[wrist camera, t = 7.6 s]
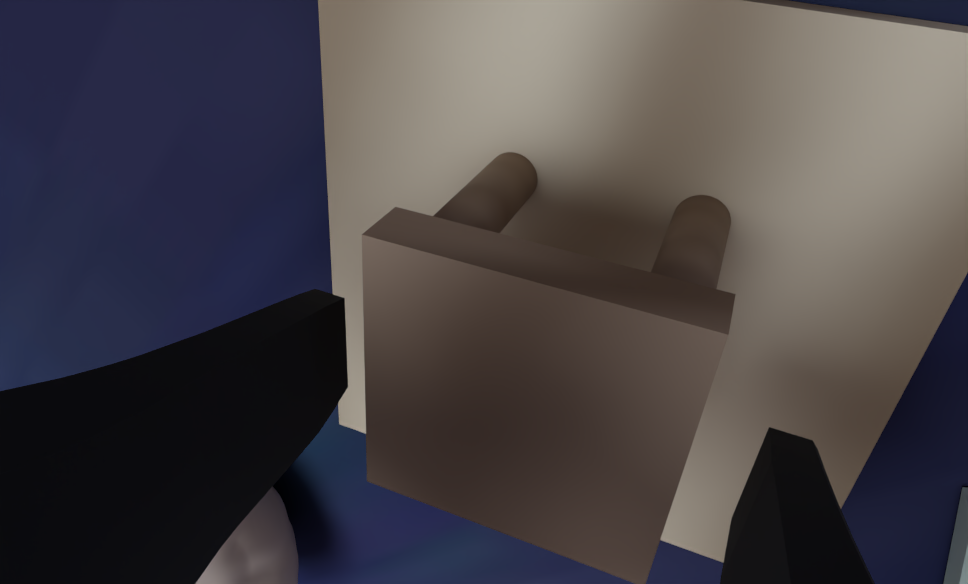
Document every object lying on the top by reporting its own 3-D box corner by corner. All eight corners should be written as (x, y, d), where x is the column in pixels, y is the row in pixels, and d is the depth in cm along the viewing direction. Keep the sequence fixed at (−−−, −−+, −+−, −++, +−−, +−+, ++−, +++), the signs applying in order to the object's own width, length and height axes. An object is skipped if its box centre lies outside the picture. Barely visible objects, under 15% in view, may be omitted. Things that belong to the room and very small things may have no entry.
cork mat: (1072, 41, 10) (1086, 50, 9) (797, 568, 16) (797, 589, 16) (332, -65, 13) (314, -62, 13) (350, 410, 20) (339, 424, 19)
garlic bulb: (179, 504, 26) (-24, 709, 20) (161, 377, 22) (-95, 579, 16) (333, 579, 25) (167, 828, 18) (340, 456, 21) (137, 714, 15)
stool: (752, 194, 12) (728, 334, 8) (685, 411, 15) (643, 587, 11) (481, 135, 13) (361, 234, 10) (465, 343, 16) (367, 481, 12)
